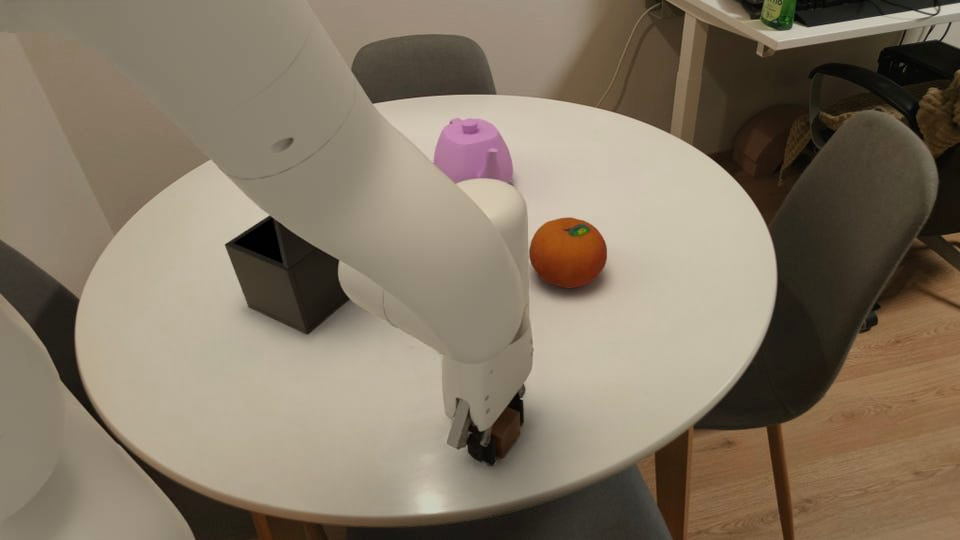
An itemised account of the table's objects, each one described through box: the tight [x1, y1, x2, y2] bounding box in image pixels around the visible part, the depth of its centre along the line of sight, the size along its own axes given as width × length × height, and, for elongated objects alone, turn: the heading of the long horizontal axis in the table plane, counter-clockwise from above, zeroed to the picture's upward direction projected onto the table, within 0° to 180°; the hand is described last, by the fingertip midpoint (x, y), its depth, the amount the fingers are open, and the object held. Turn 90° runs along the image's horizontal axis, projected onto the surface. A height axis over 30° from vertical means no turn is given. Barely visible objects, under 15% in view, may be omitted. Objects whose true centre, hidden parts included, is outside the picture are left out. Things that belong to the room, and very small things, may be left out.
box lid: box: [273, 218, 317, 269], centre depth 75 cm, size 12×15×5 cm
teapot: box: [433, 117, 514, 184], centre depth 106 cm, size 20×13×12 cm, turn 23°
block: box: [472, 407, 521, 461], centre depth 66 cm, size 4×4×4 cm
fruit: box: [528, 216, 608, 289], centre depth 86 cm, size 11×10×8 cm
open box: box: [224, 214, 351, 335], centre depth 86 cm, size 12×15×11 cm
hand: (496, 437), depth 67 cm, fingers open, 5 cm apart
